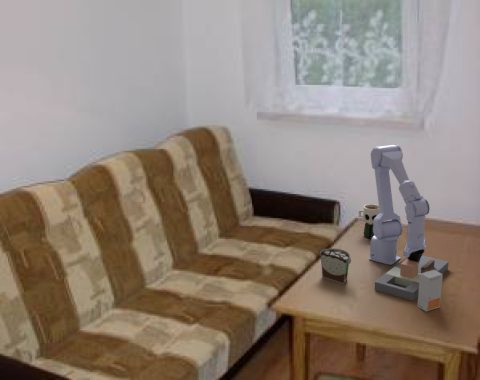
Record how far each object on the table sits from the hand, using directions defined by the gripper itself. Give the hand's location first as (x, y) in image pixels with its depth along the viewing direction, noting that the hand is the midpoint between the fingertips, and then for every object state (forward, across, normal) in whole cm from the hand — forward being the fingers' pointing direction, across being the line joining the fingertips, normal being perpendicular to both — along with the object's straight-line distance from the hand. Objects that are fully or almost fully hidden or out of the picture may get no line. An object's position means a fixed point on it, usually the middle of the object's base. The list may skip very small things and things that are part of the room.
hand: (413, 268), depth 223 cm
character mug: (+4, +28, +31) cm, 42 cm away
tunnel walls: (+1, +3, 0) cm, 4 cm away
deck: (+4, 0, 0) cm, 4 cm away
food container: (+4, -14, +22) cm, 27 cm away
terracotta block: (+1, -4, 0) cm, 4 cm away
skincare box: (+4, -17, -13) cm, 21 cm away
